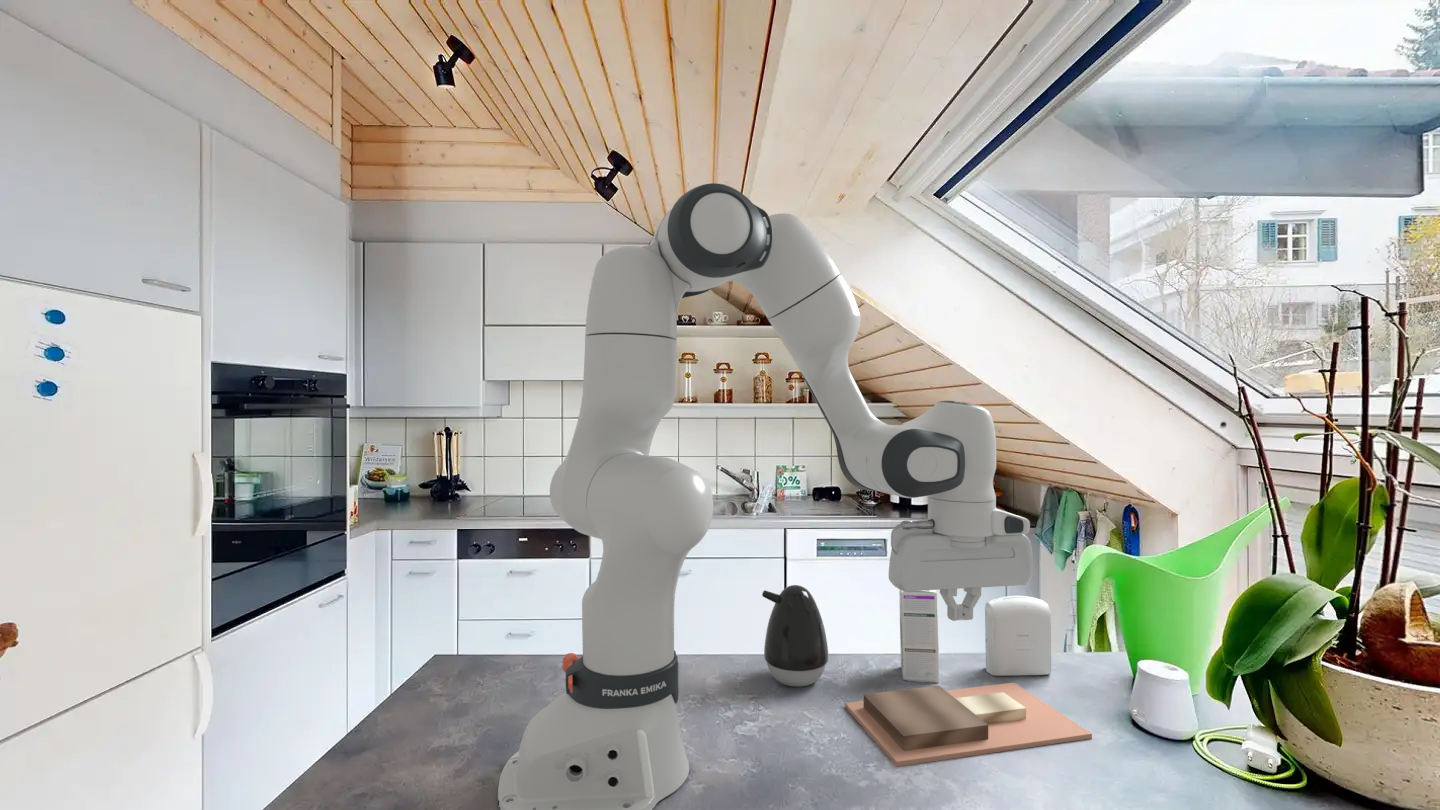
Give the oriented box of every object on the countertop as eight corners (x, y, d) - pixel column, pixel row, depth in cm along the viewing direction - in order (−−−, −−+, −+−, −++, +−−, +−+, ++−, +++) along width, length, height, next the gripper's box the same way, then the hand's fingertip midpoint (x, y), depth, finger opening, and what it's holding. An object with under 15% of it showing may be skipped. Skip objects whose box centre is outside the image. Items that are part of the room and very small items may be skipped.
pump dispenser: (762, 666, 113) (761, 576, 112) (824, 666, 112) (823, 576, 112) (764, 694, 103) (763, 595, 102) (832, 694, 102) (831, 595, 102)
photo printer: (991, 678, 107) (991, 601, 107) (981, 667, 112) (980, 593, 111) (1056, 677, 107) (1055, 600, 107) (1043, 666, 111) (1043, 592, 111)
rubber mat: (896, 766, 82) (896, 761, 82) (845, 706, 98) (845, 702, 98) (1092, 738, 88) (1091, 733, 88) (1013, 686, 104) (1013, 682, 104)
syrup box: (940, 683, 105) (939, 591, 105) (901, 680, 107) (900, 590, 106) (935, 668, 111) (935, 581, 111) (899, 666, 112) (898, 580, 112)
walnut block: (903, 755, 85) (903, 736, 85) (863, 711, 97) (863, 694, 96) (988, 743, 87) (988, 724, 87) (939, 702, 99) (939, 685, 99)
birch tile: (974, 725, 91) (974, 714, 91) (953, 708, 96) (953, 698, 96) (1026, 718, 93) (1026, 708, 93) (1003, 702, 98) (1003, 692, 97)
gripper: (902, 525, 87) (901, 631, 87) (1040, 520, 91) (1039, 622, 92) (881, 517, 93) (880, 616, 93) (1011, 513, 98) (1010, 608, 98)
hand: (960, 619), depth 93 cm, fingers closed
